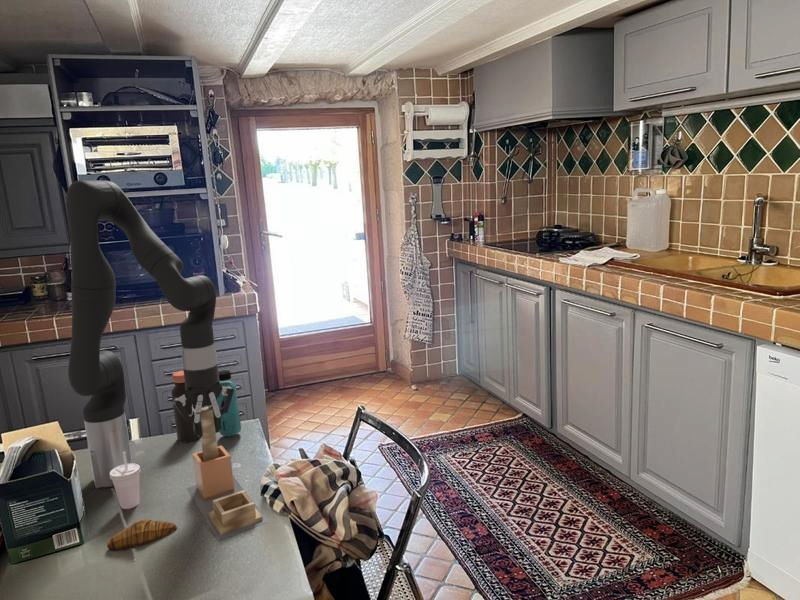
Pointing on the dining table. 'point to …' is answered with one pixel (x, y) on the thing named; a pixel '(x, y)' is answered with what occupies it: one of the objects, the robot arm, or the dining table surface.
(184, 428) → the vinegar
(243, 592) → the dining table surface
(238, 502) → the short stand
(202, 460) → the deep cup
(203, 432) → the dowel
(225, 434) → the beverage bottle
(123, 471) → the smoothie
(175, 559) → the dining table surface
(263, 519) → the slate board
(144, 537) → the croissant
